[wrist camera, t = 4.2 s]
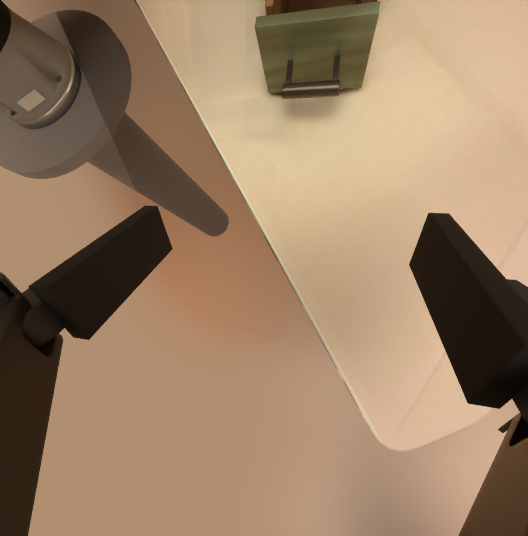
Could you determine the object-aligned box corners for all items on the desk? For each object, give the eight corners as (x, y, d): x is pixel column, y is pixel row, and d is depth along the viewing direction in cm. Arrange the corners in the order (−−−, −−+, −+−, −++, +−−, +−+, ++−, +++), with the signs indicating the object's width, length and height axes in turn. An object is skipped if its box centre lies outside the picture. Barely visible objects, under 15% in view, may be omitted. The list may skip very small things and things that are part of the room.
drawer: (358, 119, 28) (375, 55, 21) (264, 123, 31) (249, 65, 23) (369, -11, 30) (388, -114, 23) (279, 2, 33) (270, -88, 25)
